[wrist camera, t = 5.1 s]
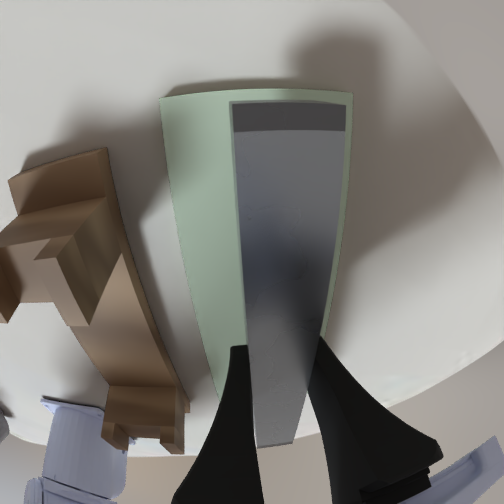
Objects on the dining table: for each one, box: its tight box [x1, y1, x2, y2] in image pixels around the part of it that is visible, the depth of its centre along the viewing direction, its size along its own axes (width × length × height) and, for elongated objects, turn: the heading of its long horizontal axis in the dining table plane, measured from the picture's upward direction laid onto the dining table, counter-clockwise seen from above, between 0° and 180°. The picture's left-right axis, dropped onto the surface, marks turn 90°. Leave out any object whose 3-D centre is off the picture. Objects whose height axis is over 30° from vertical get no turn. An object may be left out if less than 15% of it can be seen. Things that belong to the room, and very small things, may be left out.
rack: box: [0, 147, 190, 454], centre depth 12 cm, size 19×5×5 cm, turn 2°
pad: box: [159, 88, 353, 401], centre depth 14 cm, size 20×7×1 cm, turn 2°
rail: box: [229, 100, 346, 448], centre depth 11 cm, size 19×2×2 cm, turn 2°
